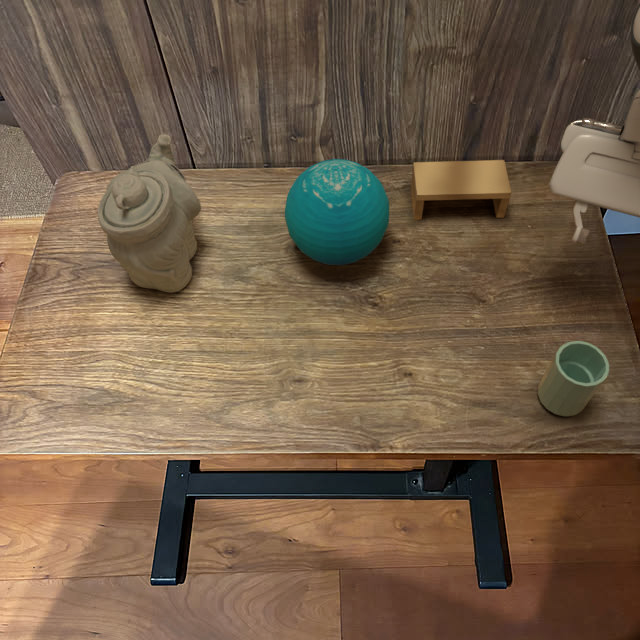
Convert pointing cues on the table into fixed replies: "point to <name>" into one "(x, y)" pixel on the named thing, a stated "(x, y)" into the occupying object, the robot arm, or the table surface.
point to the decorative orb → (337, 212)
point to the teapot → (152, 221)
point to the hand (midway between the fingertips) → (618, 254)
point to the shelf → (460, 183)
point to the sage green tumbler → (573, 378)
